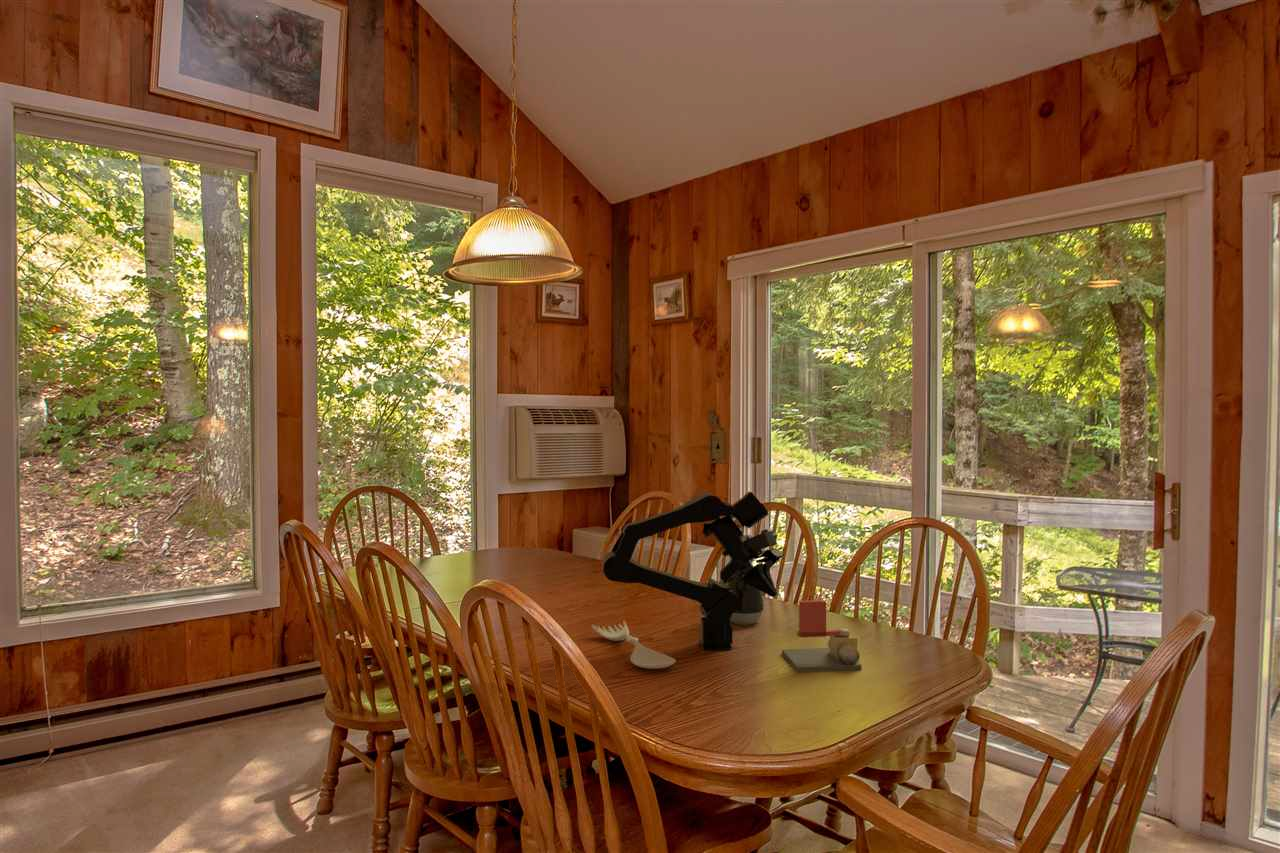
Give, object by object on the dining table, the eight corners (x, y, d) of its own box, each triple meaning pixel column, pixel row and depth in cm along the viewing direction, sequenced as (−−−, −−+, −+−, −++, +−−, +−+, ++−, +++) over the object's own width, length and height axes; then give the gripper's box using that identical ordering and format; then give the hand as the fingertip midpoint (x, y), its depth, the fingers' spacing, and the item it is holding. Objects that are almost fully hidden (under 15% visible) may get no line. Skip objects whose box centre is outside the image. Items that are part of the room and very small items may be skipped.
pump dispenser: (748, 615, 206) (748, 557, 206) (771, 624, 197) (771, 564, 196) (715, 619, 202) (715, 561, 201) (737, 629, 192) (737, 568, 192)
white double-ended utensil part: (624, 632, 191) (624, 618, 191) (683, 673, 162) (683, 656, 162) (590, 637, 187) (590, 622, 187) (643, 679, 158) (643, 662, 158)
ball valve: (840, 665, 162) (840, 641, 162) (826, 652, 171) (826, 629, 171) (861, 664, 162) (861, 641, 162) (845, 651, 171) (845, 628, 171)
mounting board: (798, 672, 161) (798, 667, 161) (781, 654, 173) (781, 649, 173) (861, 669, 162) (861, 664, 162) (840, 651, 174) (840, 647, 174)
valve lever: (846, 633, 168) (846, 598, 168) (850, 636, 165) (850, 601, 165) (796, 635, 167) (796, 600, 166) (799, 638, 164) (799, 603, 164)
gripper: (731, 522, 167) (777, 580, 160) (775, 513, 181) (818, 566, 174) (701, 554, 172) (744, 612, 165) (746, 543, 186) (787, 596, 179)
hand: (775, 595), depth 171 cm, fingers closed
